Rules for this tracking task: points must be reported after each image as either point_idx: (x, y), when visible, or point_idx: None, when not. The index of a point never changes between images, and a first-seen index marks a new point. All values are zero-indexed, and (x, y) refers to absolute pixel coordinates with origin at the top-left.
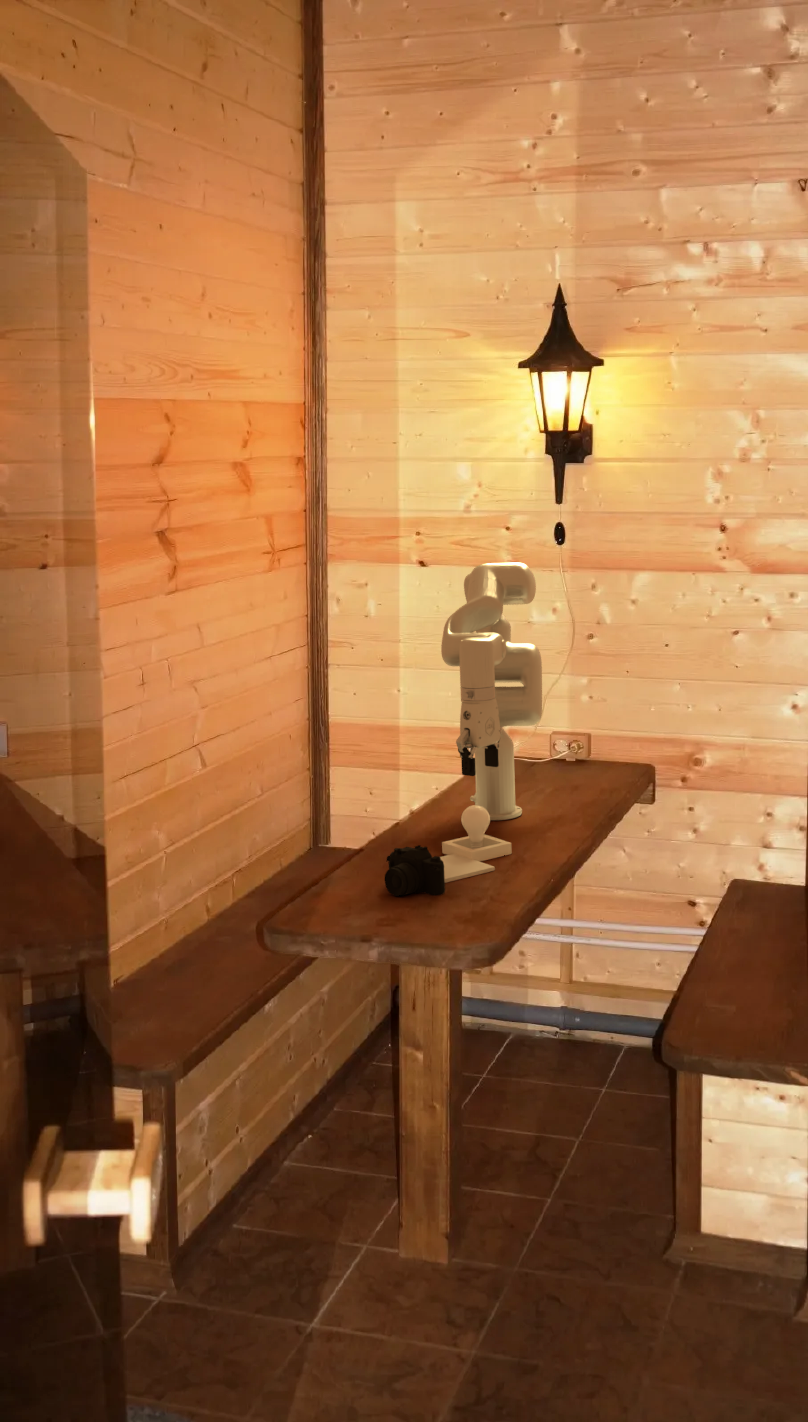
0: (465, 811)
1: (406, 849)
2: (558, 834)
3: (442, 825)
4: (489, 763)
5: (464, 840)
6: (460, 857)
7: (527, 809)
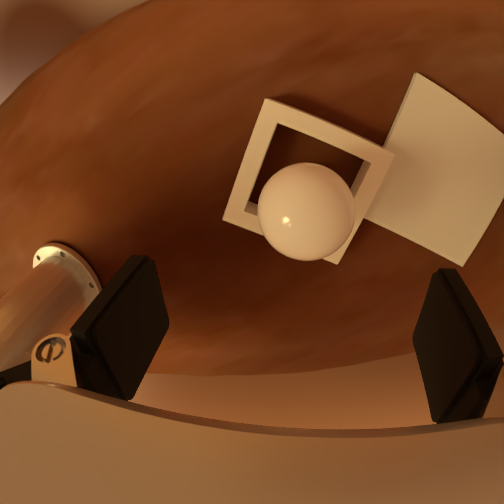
0: (337, 246)
1: None
2: (84, 104)
3: None
4: (157, 311)
5: None
6: (380, 186)
7: (26, 251)
